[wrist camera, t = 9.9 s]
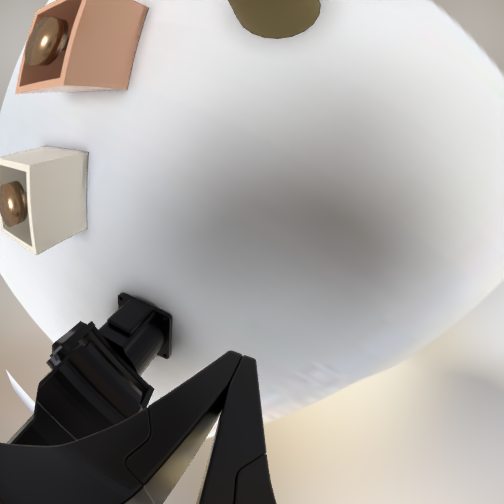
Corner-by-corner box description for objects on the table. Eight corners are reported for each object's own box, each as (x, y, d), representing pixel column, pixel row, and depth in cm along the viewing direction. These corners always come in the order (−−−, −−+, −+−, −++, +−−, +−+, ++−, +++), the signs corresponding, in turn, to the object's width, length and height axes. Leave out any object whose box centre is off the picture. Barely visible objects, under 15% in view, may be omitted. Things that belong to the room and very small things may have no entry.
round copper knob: (74, 218, 24) (22, 244, 18) (45, 207, 25) (-2, 227, 19) (74, 163, 22) (15, 179, 15) (45, 157, 22) (-7, 171, 16)
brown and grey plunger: (113, 77, 17) (48, 71, 11) (73, 80, 18) (14, 80, 12) (129, 17, 15) (69, -3, 9) (86, 27, 16) (30, 17, 9)
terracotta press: (127, 89, 18) (63, 85, 12) (71, 92, 20) (15, 94, 13) (148, 7, 15) (93, -17, 9) (88, 21, 16) (36, 10, 10)
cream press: (86, 228, 25) (36, 255, 19) (46, 211, 26) (1, 231, 20) (88, 152, 22) (29, 165, 15) (45, 146, 23) (-4, 157, 17)
